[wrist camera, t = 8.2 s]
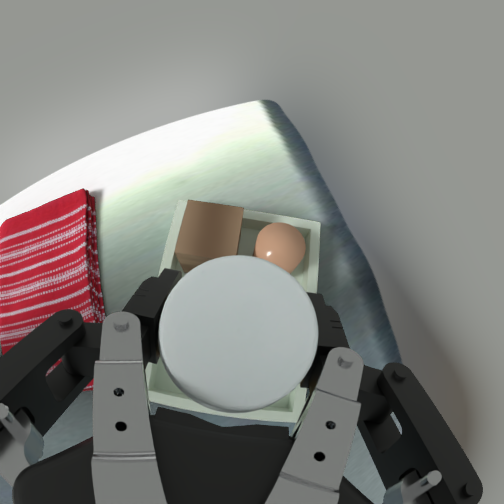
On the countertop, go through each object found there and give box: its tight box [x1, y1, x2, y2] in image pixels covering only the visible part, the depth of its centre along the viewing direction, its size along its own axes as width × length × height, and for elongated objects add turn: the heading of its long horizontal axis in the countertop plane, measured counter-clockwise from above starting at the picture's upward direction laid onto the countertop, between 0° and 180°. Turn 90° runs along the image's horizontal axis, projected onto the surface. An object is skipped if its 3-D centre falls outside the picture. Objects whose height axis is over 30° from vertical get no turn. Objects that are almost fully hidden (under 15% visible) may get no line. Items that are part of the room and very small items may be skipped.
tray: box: [145, 200, 320, 422], centre depth 27 cm, size 15×20×3 cm
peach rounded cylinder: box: [252, 222, 306, 275], centre depth 27 cm, size 4×4×5 cm
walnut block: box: [175, 200, 244, 273], centre depth 26 cm, size 5×5×6 cm
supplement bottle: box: [158, 255, 318, 413], centre depth 11 cm, size 5×5×10 cm
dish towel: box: [0, 188, 106, 391], centre depth 26 cm, size 17×24×3 cm
